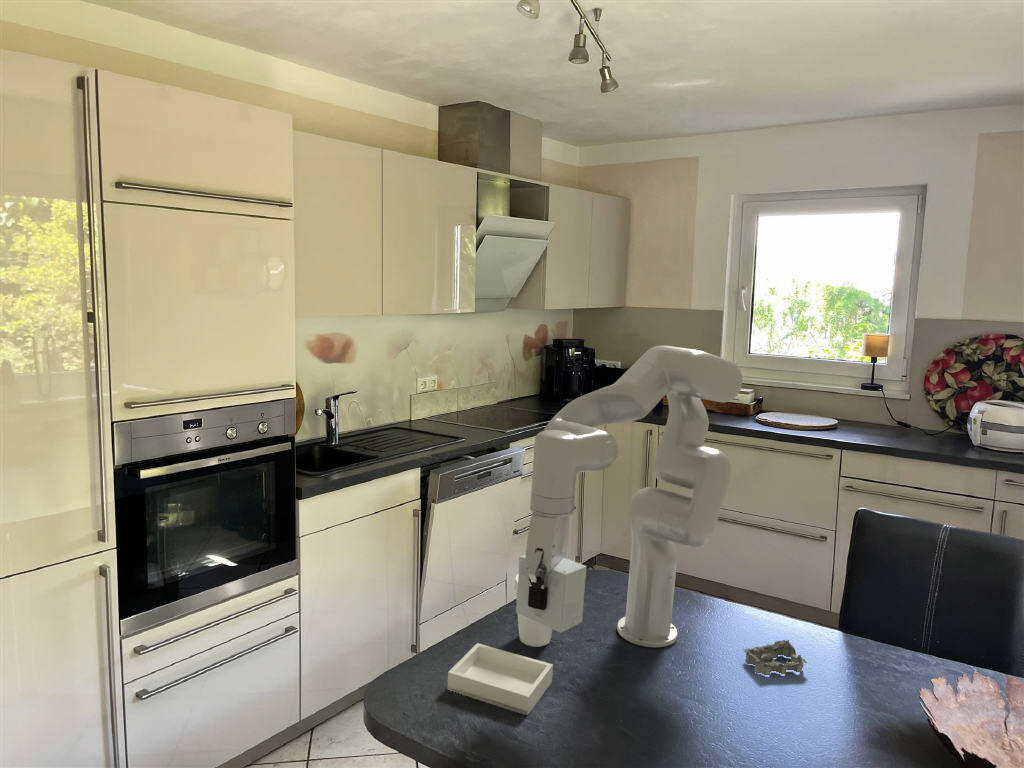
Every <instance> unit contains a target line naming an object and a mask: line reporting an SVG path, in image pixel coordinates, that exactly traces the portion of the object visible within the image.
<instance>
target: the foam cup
mask: <svg viewBox="0 0 1024 768" xmlns="http://www.w3.org/2000/svg"><path fill="white" fill-rule="evenodd" d="M518 576H519V573H517V574H516V576H515V579H514V590H515V597H516V599H515V600H516V601H517V591H518ZM517 622H518V623H517V624H518V636H519V640H520V642H521V643H523V644H524V645H527V646H530V647H538V648H540V647H544V646H547V645H549V643H550V642H551V637H552V633H553V632H552V631H553V629H551V628H549V627H547V626H545V625H542V624H540V623H538V622H536V621H534V620H532V619H529V618H527V617H525V616H523V615H521V614H518V613H517Z"/></svg>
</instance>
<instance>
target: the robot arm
mask: <svg viewBox="0 0 1024 768" xmlns="http://www.w3.org/2000/svg"><path fill="white" fill-rule="evenodd" d="M742 386H743V374H742V371H741V368H740V366H739V365H738V364H737V363H735V361H733V360H730V359H727V358H723V357H720V356H718V355H715V354H713V353H708V352H706V351H703V350H698V349H692V348H686V347H678V346H671V345H656V346H653V347H650V348H649V349H647V351H646V352H644V353H643V354H642V355H641V357H639V358H638V359H637V360H636V361H635V362H634V363H633V364H632V365H631V366H630V367H629V368H628V369H627V370H626V371H625V372H624V373H623V374H622V375H621V377H619V378H618V379H617V380H616V381H615V382H614V383H612V384H611V385H607V386H604V387H602V388H599V389H597V390H594V391H591V392H589V393H586V394H584V395H581V396H579V397H577V398H575V399H573V400H571V401H570V402H568V403H567V404H566V405H565V406H564V407H562V408H560V409H561V410H559V411H558V412H557V413H556V414H555V415H554V416H553V417H552V418H551V420H550V421H549V422H548V423H547V425H546V426H545V427H544V429H543V430H541V431H540V432H539V433H537V434H536V435H535V438H534V447H533V463H532V476H531V491H530V492H531V493H530V502H529V503H530V504H529V505H530V506H529V510H530V511H531V512H532V513H531V517H530V520H529V526H528V532H527V538H526V539H527V540H526V549H525V554H524V555H525V567H526V568H527V569H529V571H528V574H529V595H528V606H529V607H531V608H536V609H540V610H545V609H546V607H547V593H548V587H546V584H547V580H548V573H550V572H552V569H553V568H554V567H555V566H556V565H557V564H558V563H559V562H560V561H561V560H562V559H563V558H566V557H567V554H568V550H569V549H568V548H569V539H570V538H569V537H570V535H569V534H570V516H572V515H573V514H574V511H575V497H576V485H577V474H578V473H597V472H602V471H605V470H606V469H609V468H610V467H611V466H612V465H613V464H614V462H616V459H617V457H618V454H619V446H618V442H617V440H616V438H615V437H614V436H613V435H612V434H611V433H609V432H608V431H605V430H603V429H599V428H596V427H599V426H604V425H612V424H613V425H614V424H620V423H623V424H624V423H629V422H634V421H638V420H639V421H640V420H641V419H644V418H645V417H646V416H648V414H650V412H651V411H652V410H653V409H654V408H655V407H656V406H657V405H658V404H659V402H660V401H662V399H663V398H664V397H665V396H666V398H667V402H668V417H667V420H666V424H665V427H664V430H663V432H662V436H661V439H660V441H659V444H658V447H657V450H656V453H655V456H654V459H653V464H652V473H653V475H654V478H656V479H657V480H658V481H660V482H662V483H664V484H667V485H670V486H672V487H678V488H679V489H684V490H686V491H691V492H692V497H690V496H686V495H683V494H680V493H677V492H674V491H671V490H667V489H663V488H660V487H653V486H647V487H643V488H641V489H638V490H637V491H636V492H635V493H634V494H633V495H632V498H631V500H630V504H629V513H628V514H629V523H630V532H631V545H630V546H631V547H630V548H631V549H630V561H629V571H628V572H629V573H628V583H627V584H628V585H627V595H626V604H625V605H626V607H625V615H624V616H623V617H621V618H620V619H619V620H618V622H617V626H616V629H617V632H618V634H619V635H620V636H621V637H622V638H623V639H624V640H625V641H627V642H629V643H631V644H634V645H637V646H640V647H646V648H663V647H664V648H665V647H668V646H671V645H672V644H674V643H675V642H676V641H677V640H678V630H677V627H676V626H675V625H674V624H672V617H673V616H672V615H673V605H674V596H675V584H676V573H677V568H678V567H677V566H678V554H677V549H676V546H675V544H678V545H680V546H684V547H687V548H691V549H701V548H702V547H704V546H705V545H707V543H708V542H709V541H710V540H711V537H712V536H713V532H714V531H715V527H716V524H717V522H718V519H719V515H720V513H721V509H722V506H723V503H724V500H725V498H726V495H727V491H728V488H729V485H730V481H731V475H732V468H731V467H732V466H731V461H730V458H729V457H728V456H727V454H726V453H724V452H723V451H722V450H719V449H716V448H714V447H709V446H706V445H704V443H705V439H706V436H707V433H708V429H709V426H710V423H709V421H710V419H709V417H708V413H707V409H706V407H705V406H704V403H703V401H702V400H706V401H707V400H708V401H712V402H718V403H729V402H731V401H733V400H734V399H736V397H737V396H738V395H739V393H740V391H741V390H742ZM540 565H544V566H546V569H541V568H540ZM538 572H539V573H544V575H543V579H541V577H540V576H538V575H539V573H538Z"/></svg>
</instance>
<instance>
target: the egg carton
mask: <svg viewBox="0 0 1024 768" xmlns="http://www.w3.org/2000/svg"><path fill="white" fill-rule="evenodd" d="M743 650H744V651H743V652H744V653H745V661H744V663H745V662H746V663H747V664H753V665H755V667H753V668H754V670H753V672H754V671H755V672H756V673H762V674H764V675H770V676H771V674H770V672H771V671H776V672H779V673H781V674H786V675H787V673H786V670H794V671H796V672H801V673H802V671H803V670H802V668H803V669H804V664H807V663H808V662H807V661H806V659H805V658H802V656H801V654H798V655H797V651H796V649H795V647H794V646H793V644H792V643H791V642H790V640H789V639H786V640H785V639H781V640H778V641H774V643H773V644H771V643H770V644H766V645H762V646H759V645H758V646H755V647H754V646H753V647H752V648H743ZM778 655H784V656H786V657H791V660H790V662H789V661H788V660H786V663H784V662H778V661H776V660H773V658H777V657H778ZM778 658H779V657H778ZM783 664H784V665H783ZM801 670H802V671H801Z"/></svg>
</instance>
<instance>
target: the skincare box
mask: <svg viewBox="0 0 1024 768" xmlns="http://www.w3.org/2000/svg"><path fill="white" fill-rule="evenodd" d="M525 555H526V554H524V555H520V556H519V557H518V558H519V559H518V562H519V563H518V574H519V576H518V591H517V600H516V606H515V613H517V615H518V614H521V615H523V616H525V617H527V618H529V619H532V620H534V621H536V622H538V623H540V624H542V625H545V626H547V627H549V628H551V629H552V631H553V630H554V631H555V632H557V633H560V634H562V633H564V632H566V631H567V630H569V629H571V628H573V627H576V626H577V625H579V624H581V623H582V622H583V614H584V613H583V612H584V602H585V601H584V600H585V590H586V580H587V579H586V575H587V568H588V567H587V565H584V564H581V563H579V562H576V561H574V560H571V559H568V558H566V557H565V558H563V559H562V560H561V561H560V562H559V563H558V564H557V565H556V566H555V567H554V568H553V569H552V572H550V573H548V580H547V584H546V587H548V593H547V607H546V609H545V610H540V609H536V608H531V607H529V606H528V595H529V574H528V571H529V569H527V568H526V567H525ZM540 568H541V569H546V566H544V565H540ZM538 573H539V572H538ZM543 575H544V573H539V575H538V576H540V577H541V579H543Z"/></svg>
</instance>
